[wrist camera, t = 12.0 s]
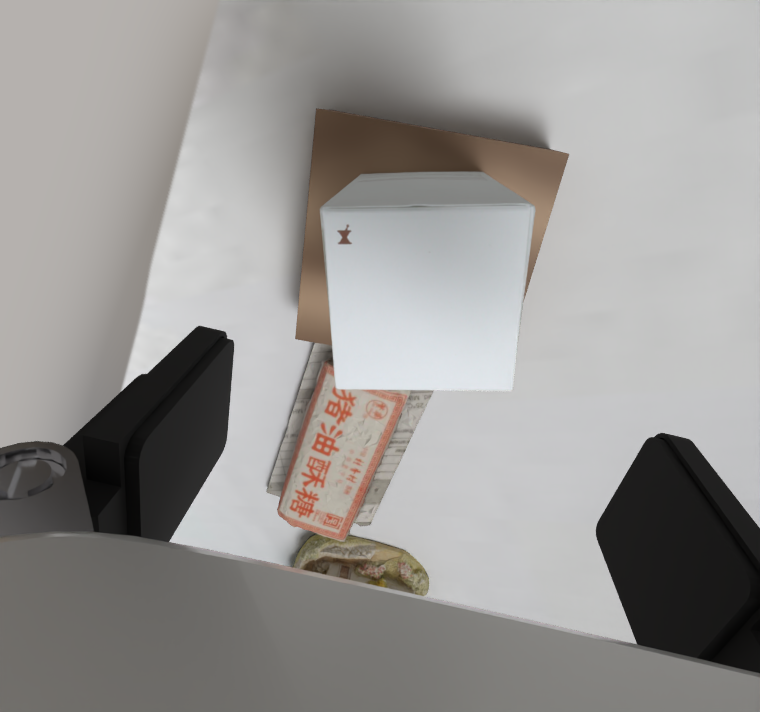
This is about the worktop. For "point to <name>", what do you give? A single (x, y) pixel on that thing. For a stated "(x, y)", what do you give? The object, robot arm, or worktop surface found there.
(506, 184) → the walnut block
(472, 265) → the supplement box
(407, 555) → the ceramic model
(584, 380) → the worktop surface
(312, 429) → the packaged product
